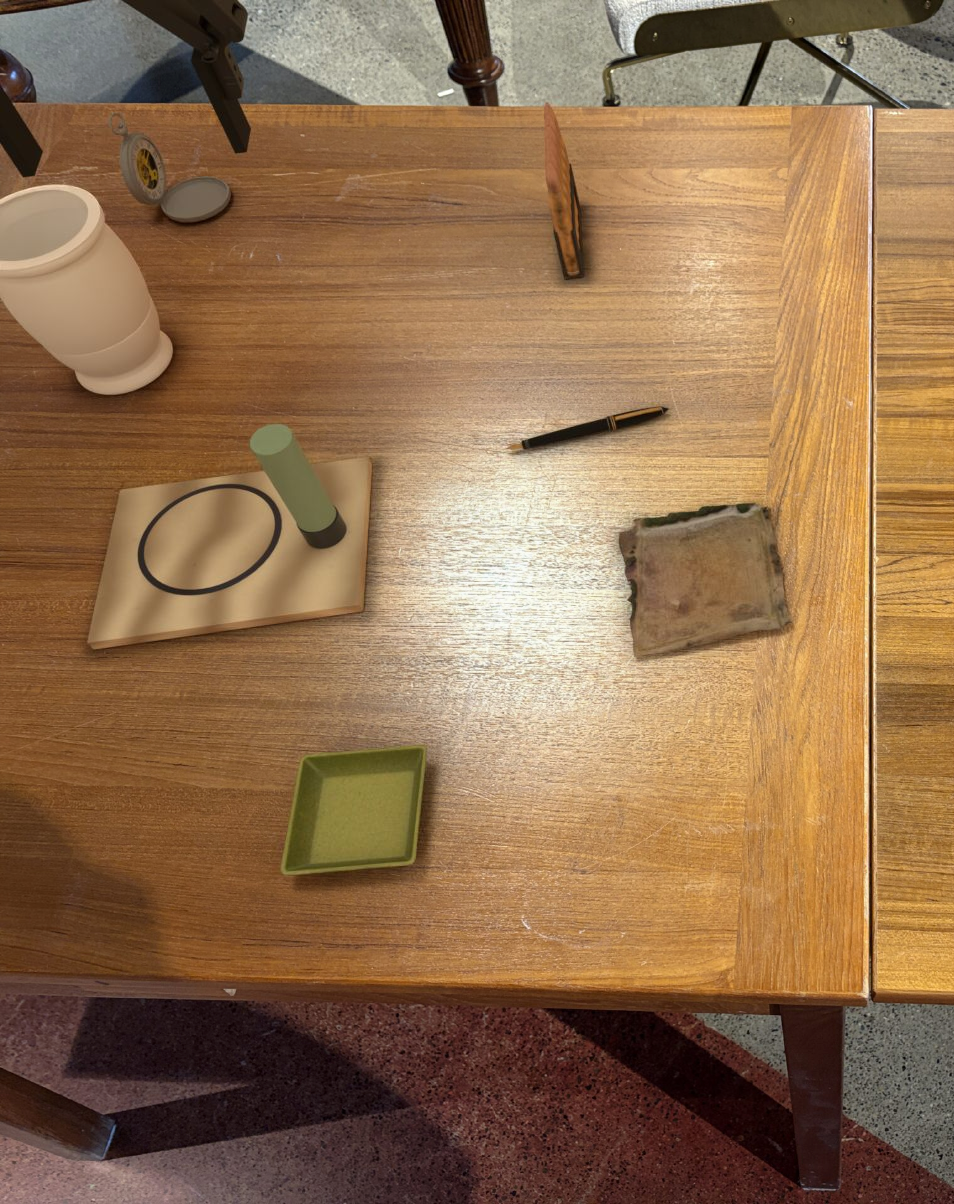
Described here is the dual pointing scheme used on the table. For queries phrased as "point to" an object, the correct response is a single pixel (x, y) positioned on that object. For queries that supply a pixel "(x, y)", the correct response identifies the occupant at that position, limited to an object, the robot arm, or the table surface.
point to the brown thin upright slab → (563, 199)
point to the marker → (298, 485)
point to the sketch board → (227, 557)
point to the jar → (79, 289)
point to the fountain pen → (592, 427)
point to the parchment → (702, 577)
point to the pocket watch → (182, 199)
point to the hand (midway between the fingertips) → (139, 153)
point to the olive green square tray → (355, 810)
